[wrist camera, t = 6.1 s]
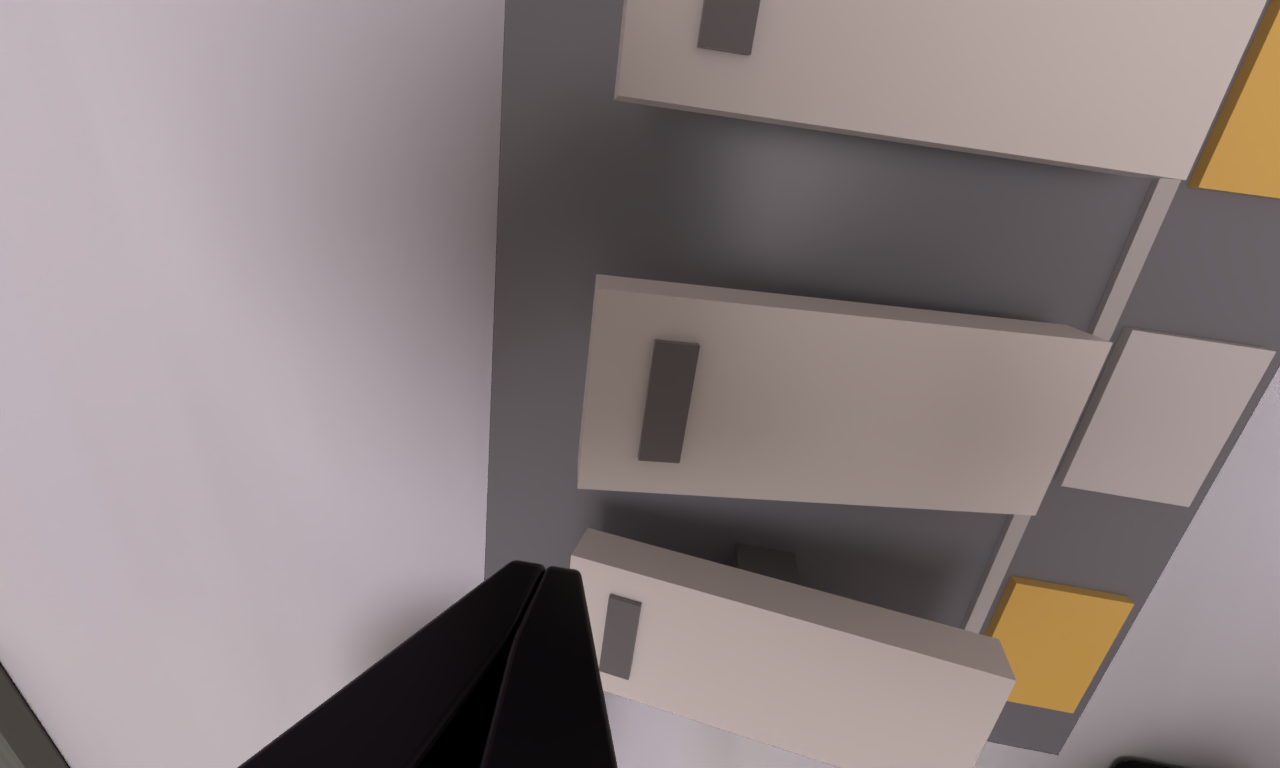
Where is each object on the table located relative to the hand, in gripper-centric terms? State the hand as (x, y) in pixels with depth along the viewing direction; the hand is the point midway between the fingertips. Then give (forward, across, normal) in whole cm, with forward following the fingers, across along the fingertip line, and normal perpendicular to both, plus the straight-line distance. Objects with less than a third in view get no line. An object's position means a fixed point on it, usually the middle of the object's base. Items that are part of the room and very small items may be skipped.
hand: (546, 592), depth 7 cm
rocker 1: (+6, -4, -8) cm, 11 cm away
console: (+12, -6, -1) cm, 13 cm away
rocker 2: (+6, -4, -1) cm, 7 cm away
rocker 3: (+6, -4, +6) cm, 10 cm away
